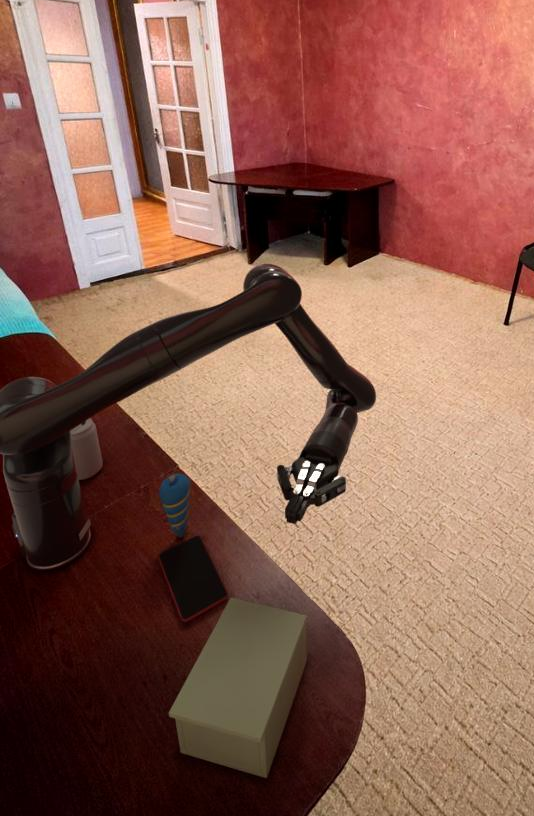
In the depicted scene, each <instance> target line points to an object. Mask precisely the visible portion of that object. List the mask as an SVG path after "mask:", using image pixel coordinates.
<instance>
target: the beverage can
mask: <svg viewBox="0 0 534 816" xmlns="http://www.w3.org/2000/svg"><path fill="white" fill-rule="evenodd" d="M97 431H98V430H97V426H96V423H94V421H93V419H92V418H89V419H88V420H86V421H85V422H83V423H82V424H80V425H78V426H77V427H75V428H74V429H72V430H71V436H72V448H73V456H74V461H75V466H76V471H77V475H78V480H79V481H83V480H87V479H90V478H92V477H93V476H95V475H96V474H97V473H99V471H101V469H102V468H103V465H104V463H103V457H102V453H101V447H100V441H99V435H98V432H97Z"/></svg>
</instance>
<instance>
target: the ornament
mask: <svg viewBox="0 0 534 816" xmlns="http://www.w3.org/2000/svg"><path fill="white" fill-rule="evenodd" d="M190 489H191V479H190V478H189V477H188V476H187V475H185V474H182V473H171V475H170V476H168V477H166V478H165V479H164V480H163V481H162V482H161V484H160V487H159V490H158V498H159V500H160V502H161V508H162V510H163V512H164V513H165V514H166V519H167V521H168V523H169V527H170V530H171V531H172V532H173V533H174V534H175V535H177V536H178V537H179V538H183V537H184V535H185V532H186V530H187V529H186V528H187V525H188V521H189V513H188V512H189V510H190V499H191V490H190Z"/></svg>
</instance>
